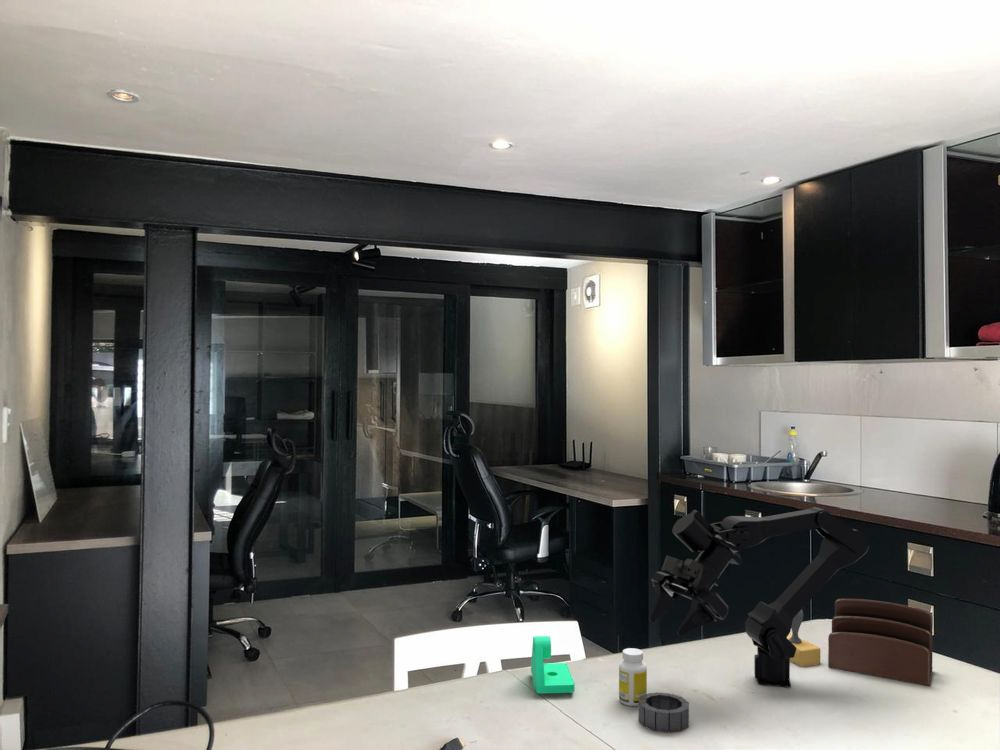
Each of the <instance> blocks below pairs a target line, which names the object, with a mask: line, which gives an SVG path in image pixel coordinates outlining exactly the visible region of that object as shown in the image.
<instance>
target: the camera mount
mask: <svg viewBox="0 0 1000 750" xmlns="http://www.w3.org/2000/svg"><path fill="white" fill-rule="evenodd" d="M530 658H531V659H530V660H531V661H530V672H531V676H532V684H533V688H534V691H536V693H537V694H567V693H569V694H570V693H574V692H575V681H574V678H573V676H572V673H571V671H570V668H569V666H568V664H567V663H564V662H549V663H548V662H545V663H544V659H545V660H546V659H550V660H551V659H552V641H551V636H550V635H539V636H537V635H536V636H533V639H532V648H531V657H530Z"/></svg>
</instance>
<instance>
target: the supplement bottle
mask: <svg viewBox="0 0 1000 750" xmlns="http://www.w3.org/2000/svg"><path fill="white" fill-rule="evenodd" d="M622 659H623V660H621V661H619V665H618V701H619V702H620V703H621V704H623V705H624V706H629V707H630V706H631V707H639V699H640V697H641V696H643V695H645V694H648V693H647V692H648V691H647V690H648V687H647V686H648V683H647V682H648V680H647V679H648V677H647V676H648V675H647V672H648V671H647V670H648V668H647V664H646V663H645V661H643V660H644V651H643V650H641V649H639V648H634V647H632V648H631V647H627V648H624V649H623V650H622Z"/></svg>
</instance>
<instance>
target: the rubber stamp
mask: <svg viewBox="0 0 1000 750" xmlns="http://www.w3.org/2000/svg"><path fill="white" fill-rule="evenodd" d="M803 620H804V611H803V609H802V610H801V611H800V612H799V613H798V614H797V615H796V616H795V618H794V619H793V623H792V627H791V632H792V633H791V634H790V633H789V635H788V636H787V639H788V640H789V641H790V642H791V643H792V644H793V645H794V646H795V647H796V648H797V649H796V652H795V655H794V658H790V662H791V663H793V664H795V665H796V666H799V667H801V668H802V667H810V666H814V665H820V664H821V647H820V646H818V645H815V644H814V643H812V642H809V641H808V640H807V641H806V640H804V639H802V638H800V637H799V630H800V628H801V625H802V623H803Z"/></svg>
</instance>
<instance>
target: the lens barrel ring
mask: <svg viewBox="0 0 1000 750" xmlns="http://www.w3.org/2000/svg"><path fill="white" fill-rule="evenodd" d="M689 712H690V702H689V701H688V700H687V699H685V698H684V697H682V696H680V695H677V694H675V693H674V694H673V693H668V692H650V693H649V692H648V693H647V694H645V695H643V696H641V697H640V699H639V706H638V723H639V724H641V725H642V726H643V727H644V728H646V729H649V730H651V731H653V732H659V733H660V732H661V733H668V734H669V733H671V734H673V733H678V732H679V733H680V732H682V731H685V730H686V729H688V728H689V726H690V725H689V723H690V717H689V716H690V713H689Z"/></svg>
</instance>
